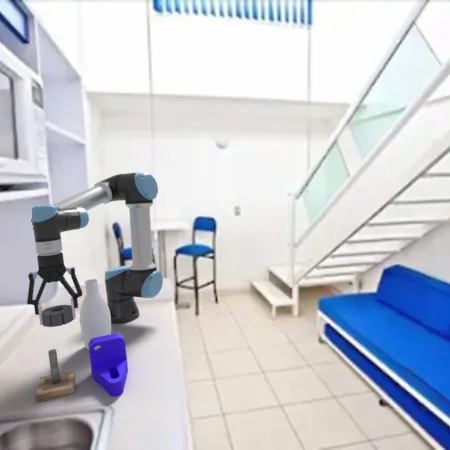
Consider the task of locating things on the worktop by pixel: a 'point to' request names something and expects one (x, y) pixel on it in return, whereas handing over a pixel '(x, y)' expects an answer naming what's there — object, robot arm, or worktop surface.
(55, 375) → the peg base board
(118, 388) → the bracket
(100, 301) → the bottle
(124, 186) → the robot arm
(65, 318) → the dark grey gear
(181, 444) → the worktop surface
